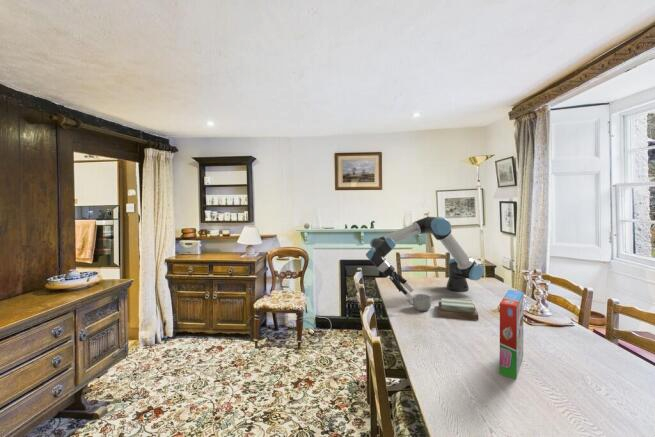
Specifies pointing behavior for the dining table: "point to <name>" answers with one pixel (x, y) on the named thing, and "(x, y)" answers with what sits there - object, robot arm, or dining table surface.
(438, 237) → the robot arm
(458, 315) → the block stand
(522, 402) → the dining table surface
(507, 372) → the game box
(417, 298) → the teacup
